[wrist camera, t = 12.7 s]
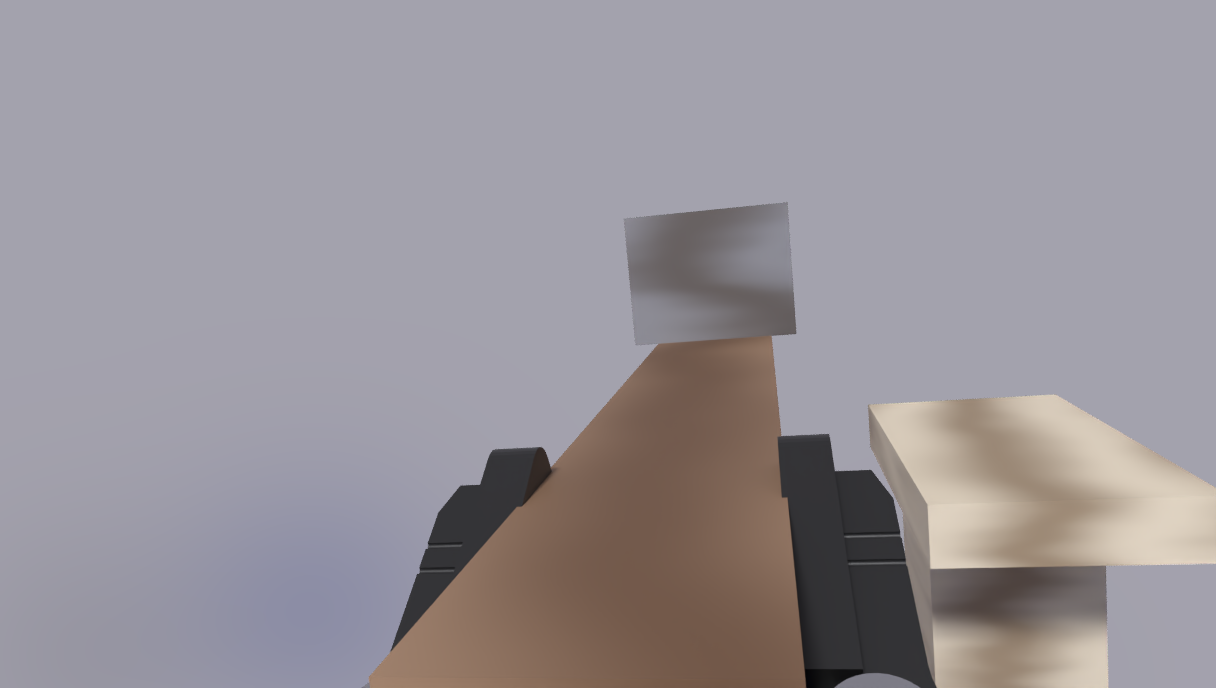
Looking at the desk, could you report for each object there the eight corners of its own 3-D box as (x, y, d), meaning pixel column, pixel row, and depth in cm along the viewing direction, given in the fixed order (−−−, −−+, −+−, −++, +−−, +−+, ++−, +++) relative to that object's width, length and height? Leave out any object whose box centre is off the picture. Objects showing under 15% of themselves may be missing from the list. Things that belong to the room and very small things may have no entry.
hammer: (796, 410, 31) (783, 206, 30) (934, 1105, 6) (881, 115, 6) (663, 417, 32) (645, 220, 31) (341, 1047, 7) (213, 195, 6)
